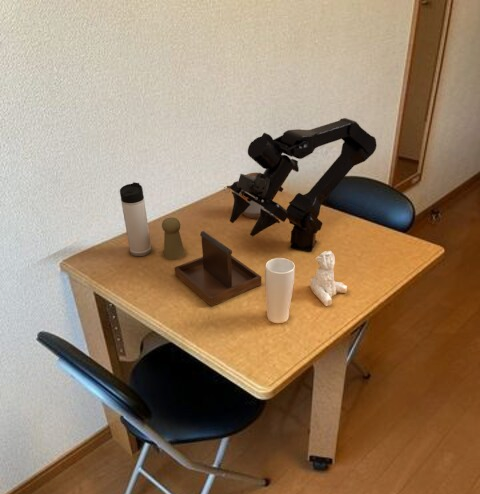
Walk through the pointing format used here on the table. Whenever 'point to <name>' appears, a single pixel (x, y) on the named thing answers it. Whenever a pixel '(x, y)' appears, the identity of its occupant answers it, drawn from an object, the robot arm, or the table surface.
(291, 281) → the drinking glass
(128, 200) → the travel mug
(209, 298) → the tray
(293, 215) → the robot arm
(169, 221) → the olive game pawn
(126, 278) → the table surface
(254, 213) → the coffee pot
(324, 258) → the sitting furry creature
